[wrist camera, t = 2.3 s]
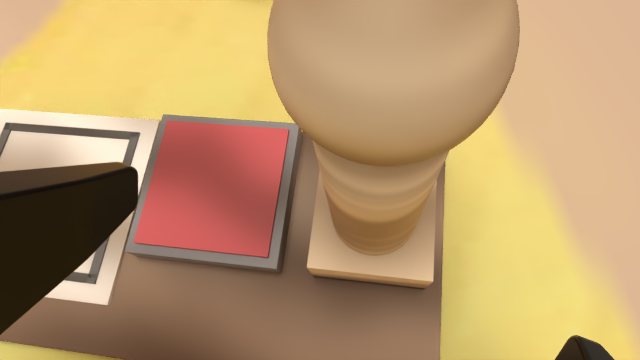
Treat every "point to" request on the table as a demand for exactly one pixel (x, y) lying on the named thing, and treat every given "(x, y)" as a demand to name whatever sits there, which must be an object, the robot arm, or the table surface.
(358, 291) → the board
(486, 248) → the table surface
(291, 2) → the stamp
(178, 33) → the table surface
